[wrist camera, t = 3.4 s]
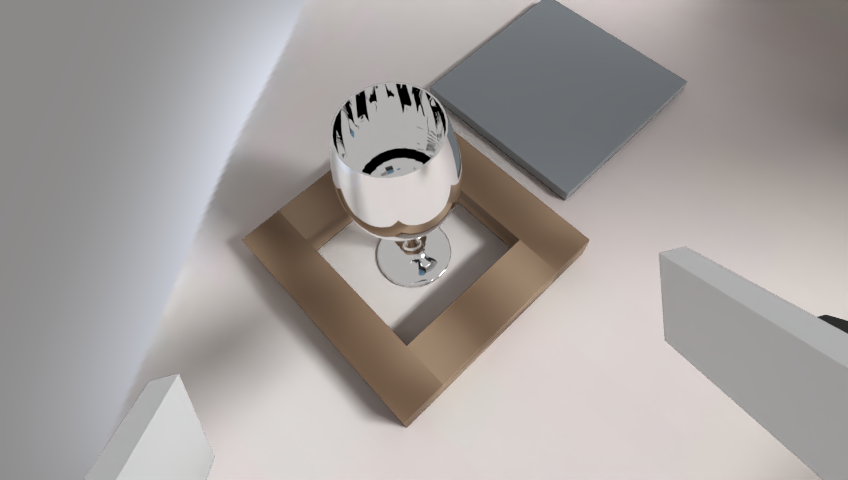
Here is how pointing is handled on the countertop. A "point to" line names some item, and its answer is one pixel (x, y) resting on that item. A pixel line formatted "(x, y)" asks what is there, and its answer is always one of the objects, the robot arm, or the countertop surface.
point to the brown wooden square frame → (456, 326)
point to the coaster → (557, 94)
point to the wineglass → (398, 176)
